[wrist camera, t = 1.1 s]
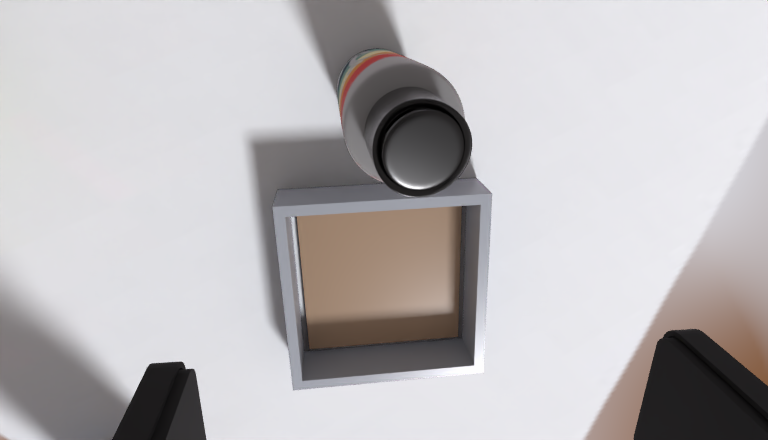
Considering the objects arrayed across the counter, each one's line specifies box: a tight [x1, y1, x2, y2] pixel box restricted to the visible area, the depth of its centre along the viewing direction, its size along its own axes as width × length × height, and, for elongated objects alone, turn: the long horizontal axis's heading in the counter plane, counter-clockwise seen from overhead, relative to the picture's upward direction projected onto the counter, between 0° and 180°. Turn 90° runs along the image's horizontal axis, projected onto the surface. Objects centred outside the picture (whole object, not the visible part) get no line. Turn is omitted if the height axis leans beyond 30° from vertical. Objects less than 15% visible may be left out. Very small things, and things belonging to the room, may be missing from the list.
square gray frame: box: [272, 178, 492, 390], centre depth 41 cm, size 16×16×4 cm
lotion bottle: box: [337, 49, 472, 197], centre depth 28 cm, size 6×6×20 cm
